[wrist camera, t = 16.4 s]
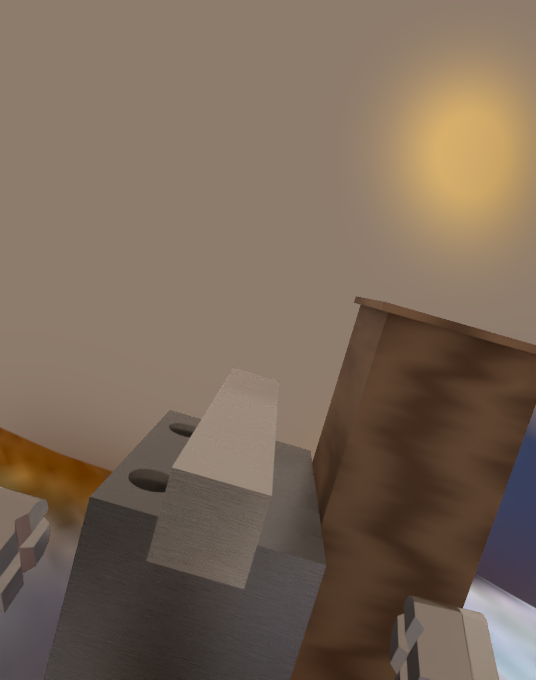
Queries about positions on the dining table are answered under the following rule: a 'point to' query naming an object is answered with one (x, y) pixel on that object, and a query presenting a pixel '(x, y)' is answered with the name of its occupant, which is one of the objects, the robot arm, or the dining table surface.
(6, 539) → the robot arm
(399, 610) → the tall wooden cabinet
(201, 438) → the grey rectangular block
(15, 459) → the dining table surface
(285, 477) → the riser block
